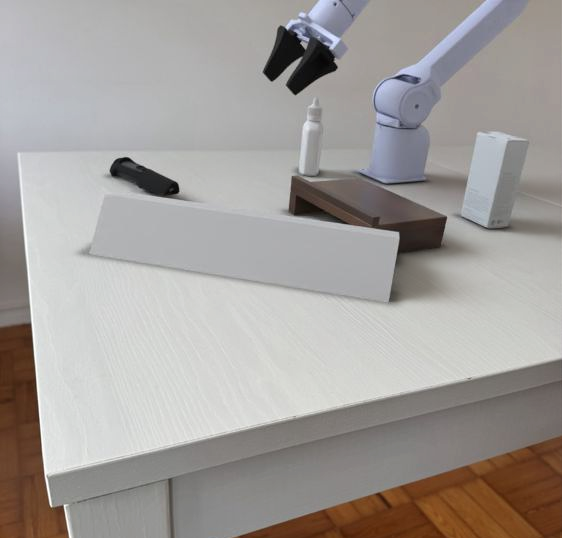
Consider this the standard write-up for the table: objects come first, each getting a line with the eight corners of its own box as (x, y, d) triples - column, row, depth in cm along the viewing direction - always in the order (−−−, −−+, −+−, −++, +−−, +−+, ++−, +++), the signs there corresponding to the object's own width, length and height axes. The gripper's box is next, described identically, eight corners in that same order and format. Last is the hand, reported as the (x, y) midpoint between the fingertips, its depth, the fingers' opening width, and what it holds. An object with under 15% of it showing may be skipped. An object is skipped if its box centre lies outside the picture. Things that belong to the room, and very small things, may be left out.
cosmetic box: (509, 227, 86) (534, 140, 79) (485, 229, 84) (509, 140, 78) (479, 213, 90) (501, 130, 84) (456, 215, 88) (477, 130, 82)
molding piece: (380, 329, 72) (394, 251, 73) (388, 303, 60) (404, 211, 62) (126, 286, 76) (144, 213, 78) (88, 254, 65) (111, 170, 66)
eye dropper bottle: (326, 171, 105) (335, 98, 99) (312, 177, 100) (320, 101, 94) (304, 167, 106) (312, 94, 100) (289, 172, 102) (296, 97, 96)
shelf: (356, 204, 89) (361, 170, 86) (440, 246, 76) (449, 208, 73) (288, 211, 83) (291, 175, 81) (366, 258, 70) (373, 217, 68)
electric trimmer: (162, 205, 82) (162, 182, 80) (107, 175, 91) (106, 154, 89) (185, 202, 84) (186, 179, 82) (129, 173, 93) (129, 152, 92)
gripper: (299, -21, 90) (241, 53, 92) (351, -5, 80) (285, 77, 82) (324, 15, 95) (269, 84, 97) (376, 34, 85) (313, 110, 87)
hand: (278, 83), depth 90 cm, fingers open, 7 cm apart
